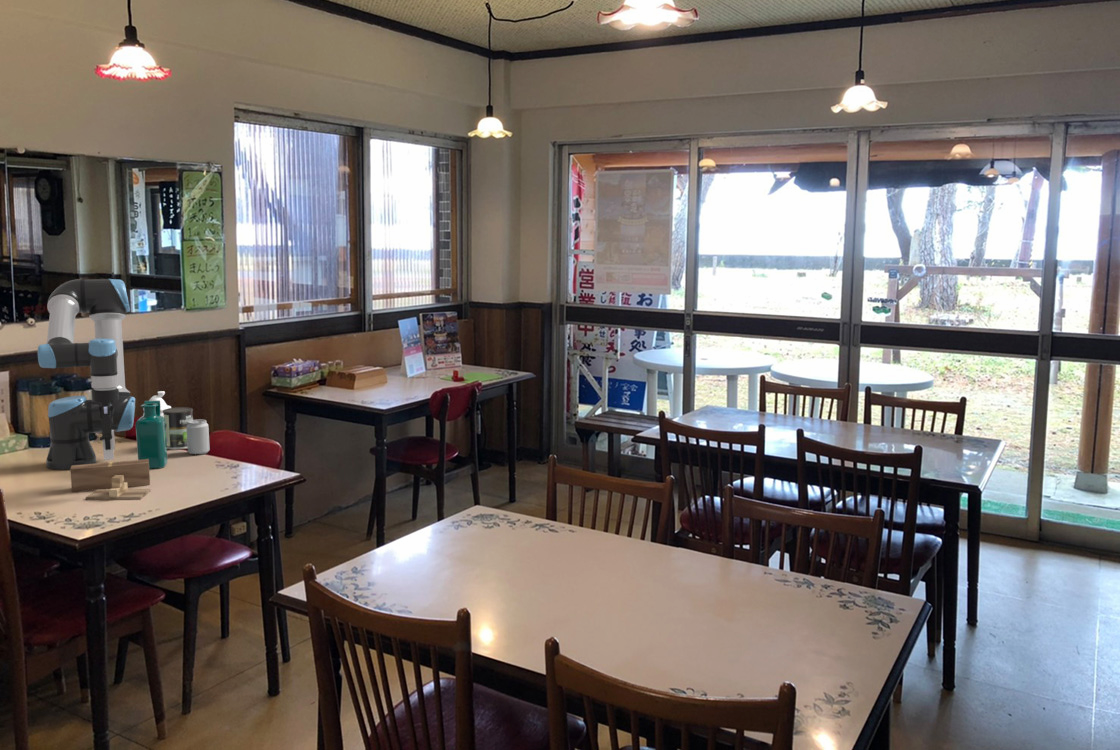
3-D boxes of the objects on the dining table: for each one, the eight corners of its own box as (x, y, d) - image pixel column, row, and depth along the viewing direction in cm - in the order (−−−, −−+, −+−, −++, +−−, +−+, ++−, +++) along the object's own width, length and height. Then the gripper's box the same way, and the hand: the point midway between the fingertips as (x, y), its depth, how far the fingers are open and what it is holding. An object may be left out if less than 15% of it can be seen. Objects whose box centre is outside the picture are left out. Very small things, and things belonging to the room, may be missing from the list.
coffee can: (200, 444, 336) (198, 408, 334) (180, 450, 327) (178, 413, 325) (179, 441, 340) (177, 405, 338) (158, 448, 330) (156, 411, 328)
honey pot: (177, 432, 355) (175, 388, 352) (174, 440, 343) (171, 394, 340) (142, 434, 351) (139, 389, 348) (138, 441, 339) (135, 395, 336)
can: (214, 451, 326) (212, 419, 324) (198, 456, 320) (196, 423, 318) (199, 449, 329) (197, 417, 327) (183, 453, 323) (181, 421, 321)
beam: (73, 488, 280) (71, 465, 279) (150, 481, 289) (148, 458, 288) (72, 492, 275) (70, 469, 274) (149, 485, 284) (148, 462, 283)
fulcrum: (97, 491, 276) (95, 473, 275) (150, 491, 277) (149, 472, 276) (86, 499, 268) (84, 480, 267) (140, 499, 269) (139, 480, 268)
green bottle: (164, 468, 303) (160, 405, 300) (137, 469, 301) (133, 406, 298) (169, 461, 313) (165, 399, 309) (143, 462, 311) (139, 400, 307)
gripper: (93, 383, 286) (98, 447, 290) (89, 395, 264) (94, 464, 267) (119, 381, 289) (123, 445, 293) (117, 393, 267) (122, 462, 270)
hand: (109, 454), depth 280 cm, fingers open, 13 cm apart
